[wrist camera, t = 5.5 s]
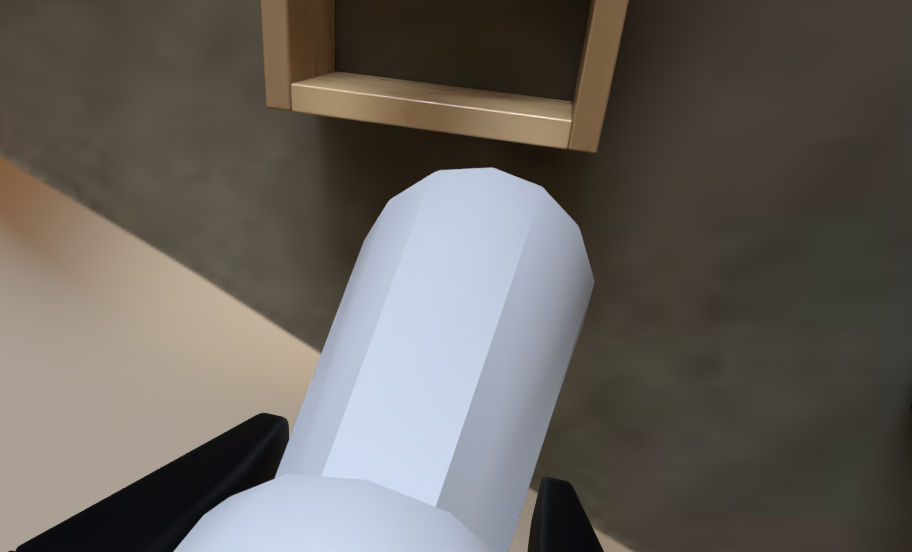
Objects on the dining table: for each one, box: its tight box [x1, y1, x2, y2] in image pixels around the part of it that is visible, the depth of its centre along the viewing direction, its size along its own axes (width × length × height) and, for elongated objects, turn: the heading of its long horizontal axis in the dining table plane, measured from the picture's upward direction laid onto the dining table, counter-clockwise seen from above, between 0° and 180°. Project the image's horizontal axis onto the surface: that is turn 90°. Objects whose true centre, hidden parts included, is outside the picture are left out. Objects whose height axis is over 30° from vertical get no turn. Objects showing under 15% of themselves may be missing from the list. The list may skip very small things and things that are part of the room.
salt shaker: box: [174, 167, 595, 552], centre depth 10 cm, size 6×6×13 cm
